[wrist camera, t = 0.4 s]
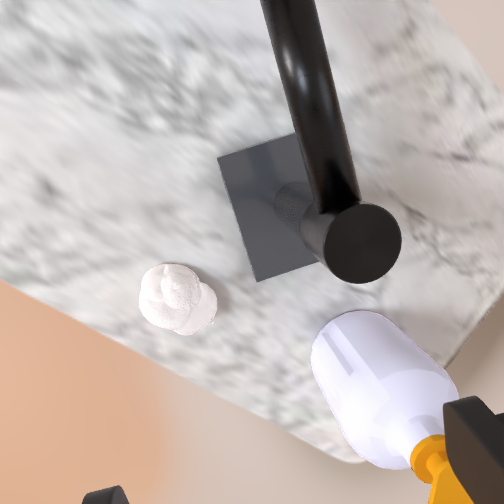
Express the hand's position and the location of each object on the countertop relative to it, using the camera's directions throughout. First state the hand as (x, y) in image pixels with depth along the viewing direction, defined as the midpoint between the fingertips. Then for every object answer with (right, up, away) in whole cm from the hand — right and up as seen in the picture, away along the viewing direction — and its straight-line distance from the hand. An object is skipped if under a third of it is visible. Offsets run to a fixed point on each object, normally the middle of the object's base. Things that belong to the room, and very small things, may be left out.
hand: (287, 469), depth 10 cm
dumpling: (-7, +2, +27) cm, 28 cm away
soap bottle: (+9, -4, +31) cm, 33 cm away
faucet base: (+2, +10, +27) cm, 28 cm away
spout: (+2, +13, +14) cm, 19 cm away
